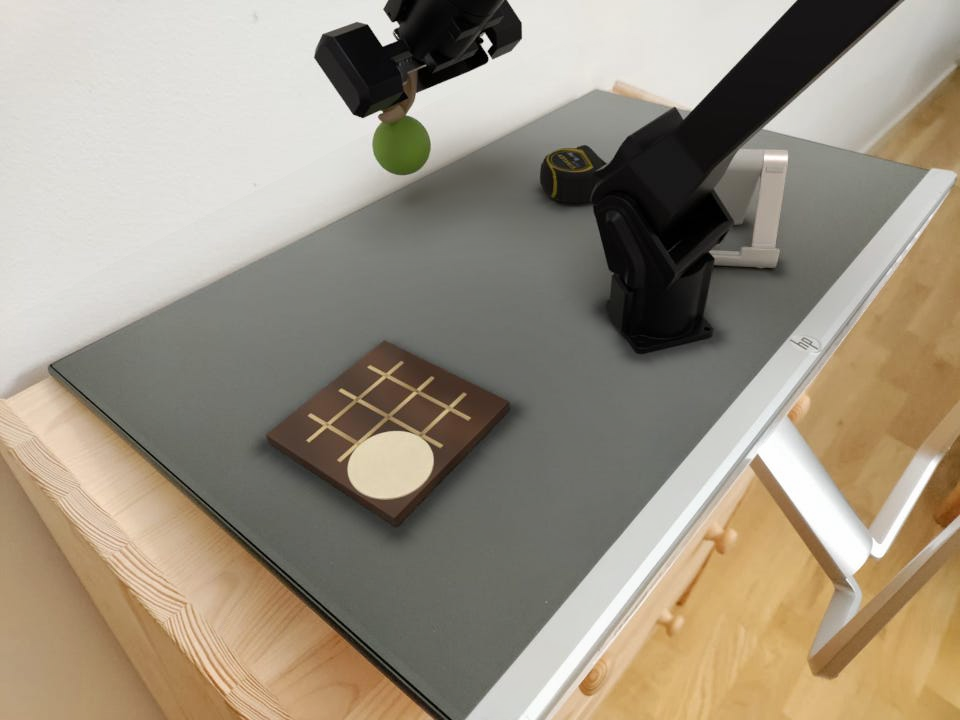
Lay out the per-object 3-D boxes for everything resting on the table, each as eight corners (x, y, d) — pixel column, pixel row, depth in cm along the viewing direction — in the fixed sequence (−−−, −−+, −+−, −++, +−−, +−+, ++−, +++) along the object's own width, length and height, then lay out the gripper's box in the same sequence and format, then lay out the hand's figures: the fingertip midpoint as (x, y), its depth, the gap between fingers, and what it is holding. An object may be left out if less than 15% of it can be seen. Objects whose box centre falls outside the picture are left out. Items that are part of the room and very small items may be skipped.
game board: (386, 349, 56) (384, 338, 55) (509, 410, 50) (509, 400, 49) (268, 444, 49) (264, 433, 48) (396, 527, 43) (393, 517, 43)
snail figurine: (450, 161, 69) (437, 32, 61) (411, 190, 65) (392, 56, 57) (406, 151, 71) (388, 25, 63) (365, 178, 68) (341, 48, 60)
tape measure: (619, 202, 71) (622, 167, 68) (555, 215, 69) (556, 181, 67) (590, 172, 76) (592, 139, 73) (530, 184, 74) (530, 151, 72)
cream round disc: (425, 433, 49) (423, 422, 48) (444, 496, 45) (442, 485, 44) (345, 453, 48) (342, 442, 47) (357, 519, 44) (353, 507, 43)
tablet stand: (670, 267, 62) (684, 180, 56) (668, 220, 68) (680, 137, 62) (774, 273, 60) (798, 184, 55) (763, 224, 66) (784, 139, 61)
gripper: (490, -137, 56) (411, -3, 69) (299, -92, 46) (250, 53, 59) (568, -14, 57) (476, 94, 70) (398, 55, 47) (328, 166, 60)
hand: (388, 99), depth 65 cm, fingers closed on snail figurine, 6 cm apart
